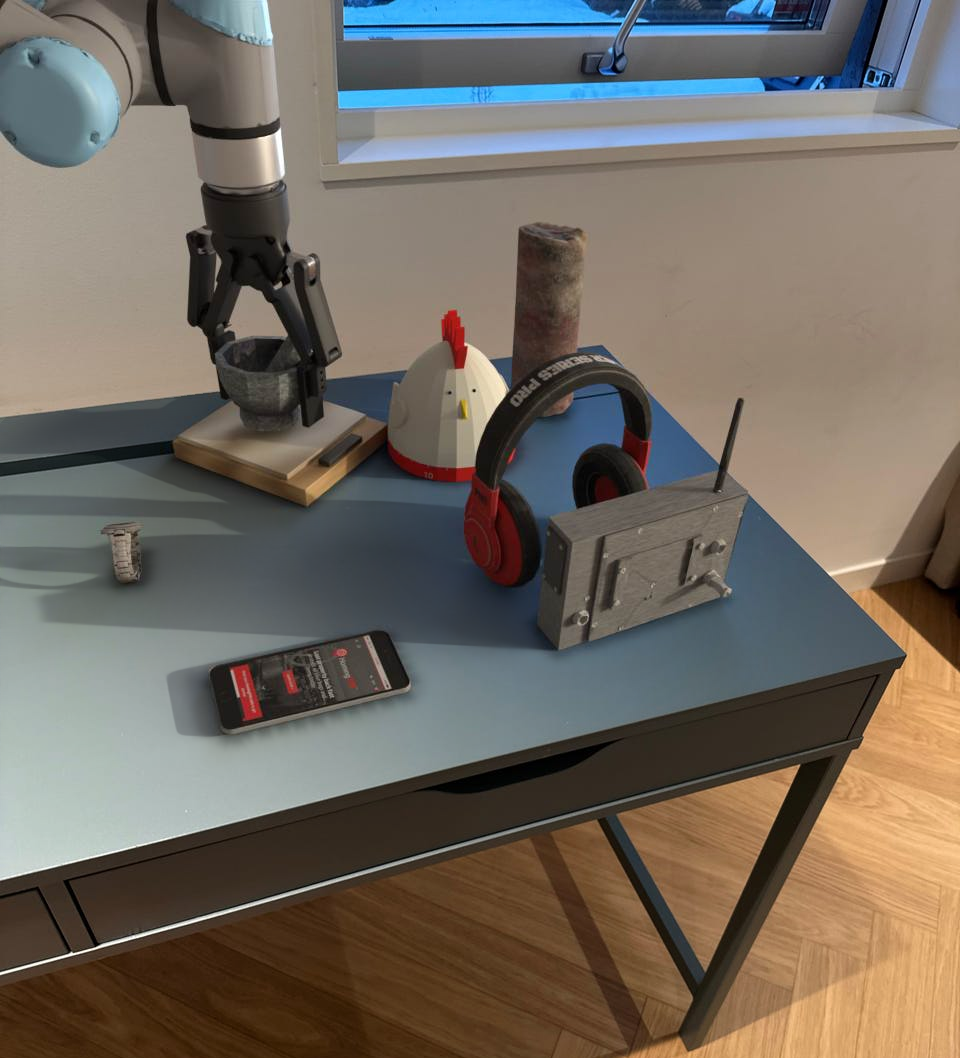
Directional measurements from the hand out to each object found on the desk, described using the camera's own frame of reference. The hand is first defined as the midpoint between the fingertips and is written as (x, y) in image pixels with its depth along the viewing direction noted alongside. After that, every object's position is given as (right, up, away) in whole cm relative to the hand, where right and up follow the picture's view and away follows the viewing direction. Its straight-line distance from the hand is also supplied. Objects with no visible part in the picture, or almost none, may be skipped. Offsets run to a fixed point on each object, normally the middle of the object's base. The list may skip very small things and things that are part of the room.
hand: (272, 407), depth 98 cm
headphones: (+29, -17, -9) cm, 34 cm away
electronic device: (+36, -23, -15) cm, 45 cm away
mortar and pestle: (0, -1, +1) cm, 1 cm away
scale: (+1, -4, +3) cm, 5 cm away
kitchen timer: (+19, -3, +5) cm, 19 cm away
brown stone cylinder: (+29, +4, +12) cm, 32 cm away
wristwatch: (-10, -18, -13) cm, 25 cm away
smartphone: (+8, -28, -23) cm, 37 cm away
